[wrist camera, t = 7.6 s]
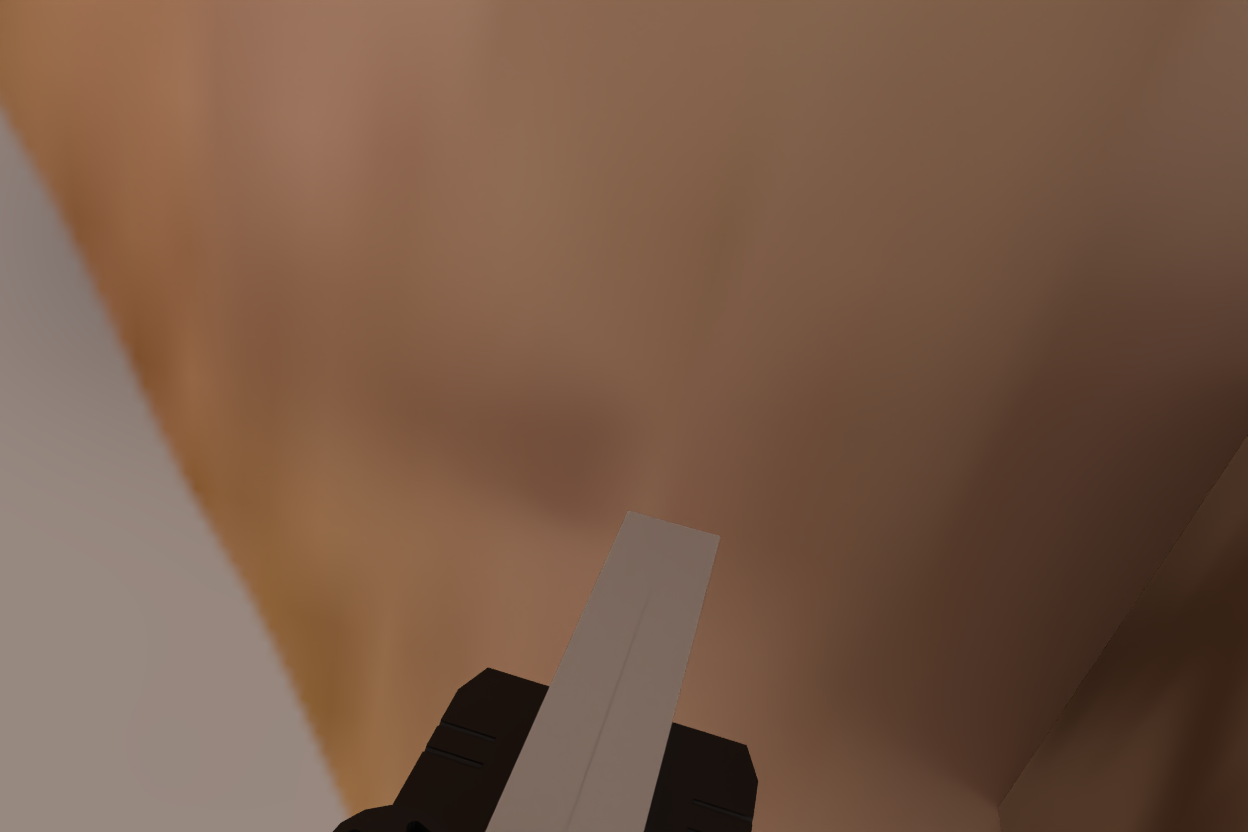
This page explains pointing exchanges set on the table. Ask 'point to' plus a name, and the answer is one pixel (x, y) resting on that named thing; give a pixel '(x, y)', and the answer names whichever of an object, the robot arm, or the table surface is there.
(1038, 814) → the walnut block
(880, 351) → the table surface
